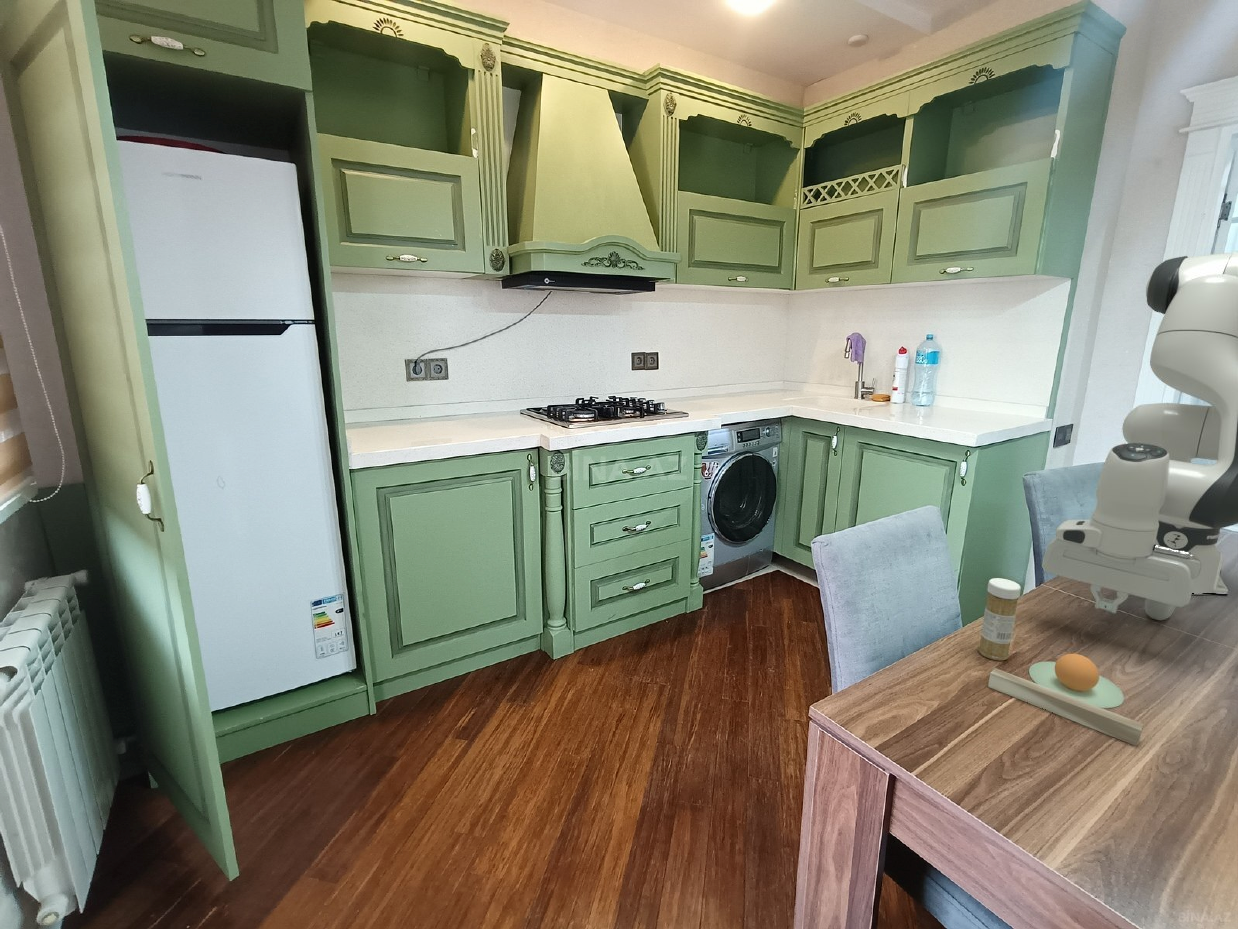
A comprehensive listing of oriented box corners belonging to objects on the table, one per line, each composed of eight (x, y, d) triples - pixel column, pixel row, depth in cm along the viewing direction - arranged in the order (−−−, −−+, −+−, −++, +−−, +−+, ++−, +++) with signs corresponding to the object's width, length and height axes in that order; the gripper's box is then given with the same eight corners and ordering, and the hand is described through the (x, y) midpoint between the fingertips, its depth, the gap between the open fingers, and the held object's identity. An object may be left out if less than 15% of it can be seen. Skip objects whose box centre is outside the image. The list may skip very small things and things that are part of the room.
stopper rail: (992, 681, 94) (994, 667, 93) (1139, 739, 81) (1143, 724, 80) (988, 686, 92) (990, 672, 92) (1137, 746, 79) (1141, 730, 79)
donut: (1161, 629, 109) (1173, 580, 107) (1137, 622, 112) (1148, 573, 110) (1178, 615, 115) (1190, 568, 112) (1155, 608, 118) (1166, 562, 115)
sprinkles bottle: (1004, 650, 103) (1016, 579, 99) (1011, 664, 98) (1025, 590, 95) (974, 645, 104) (985, 575, 101) (980, 659, 100) (992, 586, 97)
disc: (1039, 654, 101) (1040, 653, 101) (1129, 685, 93) (1130, 684, 93) (1019, 682, 93) (1019, 681, 93) (1115, 719, 85) (1116, 718, 85)
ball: (1061, 641, 94) (1051, 664, 91) (1105, 655, 90) (1095, 680, 87) (1058, 664, 96) (1048, 688, 93) (1101, 679, 92) (1092, 704, 89)
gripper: (1206, 549, 96) (1187, 625, 99) (1055, 518, 110) (1043, 585, 114) (1202, 561, 92) (1182, 639, 95) (1046, 527, 106) (1034, 596, 110)
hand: (1105, 609), depth 105 cm, fingers closed
